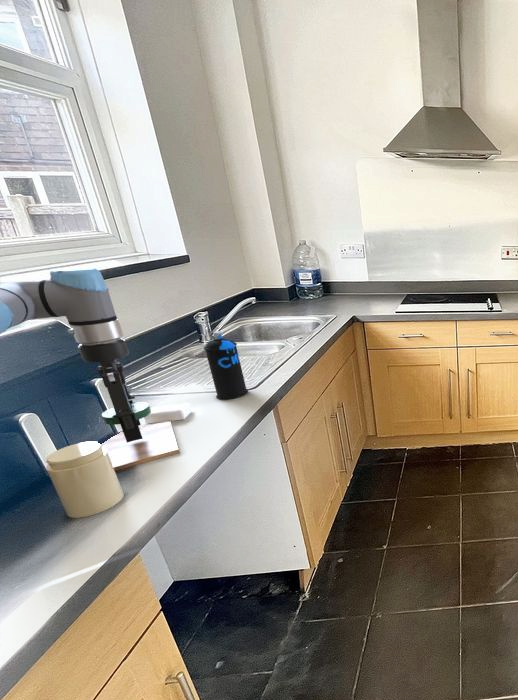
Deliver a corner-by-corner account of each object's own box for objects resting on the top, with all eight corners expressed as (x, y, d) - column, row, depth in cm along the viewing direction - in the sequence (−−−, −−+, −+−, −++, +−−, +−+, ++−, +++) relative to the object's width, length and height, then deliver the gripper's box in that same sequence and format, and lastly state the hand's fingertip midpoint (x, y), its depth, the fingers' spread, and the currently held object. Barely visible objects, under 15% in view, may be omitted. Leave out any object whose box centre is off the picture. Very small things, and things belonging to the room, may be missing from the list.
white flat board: (99, 441, 102) (98, 437, 101) (171, 423, 111) (170, 419, 110) (97, 476, 88) (96, 472, 87) (179, 452, 97) (178, 448, 96)
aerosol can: (209, 398, 125) (192, 334, 119) (233, 388, 133) (217, 327, 126) (232, 401, 124) (215, 336, 117) (254, 390, 131) (240, 329, 124)
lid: (100, 428, 91) (98, 421, 90) (107, 414, 97) (105, 407, 97) (149, 418, 95) (147, 411, 95) (152, 405, 102) (150, 399, 101)
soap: (192, 411, 117) (190, 401, 116) (185, 420, 112) (181, 409, 111) (154, 415, 114) (151, 405, 113) (145, 424, 110) (141, 414, 109)
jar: (68, 502, 80) (44, 450, 76) (123, 485, 85) (104, 435, 81) (65, 524, 74) (39, 469, 70) (124, 504, 79) (103, 452, 75)
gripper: (79, 334, 95) (112, 422, 103) (73, 355, 80) (112, 456, 88) (122, 328, 100) (151, 413, 108) (125, 347, 85) (157, 444, 93)
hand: (134, 432), depth 98 cm, fingers closed on lid, 8 cm apart
